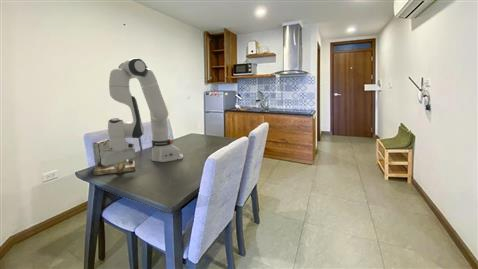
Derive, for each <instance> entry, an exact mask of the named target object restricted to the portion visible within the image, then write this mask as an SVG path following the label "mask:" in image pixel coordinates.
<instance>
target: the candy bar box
mask: <svg viewBox="0 0 478 269" xmlns="http://www.w3.org/2000/svg"><path fill="white" fill-rule="evenodd" d="M109 148H110V147H109V138H103V139H100V140H98V141H95V142H92V151H93V159H94V164H95V165H94V166H95V167H96V165H97V164H98V162H101V152H102V151H103V150H104V149H109ZM103 152H104V151H103Z"/></svg>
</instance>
